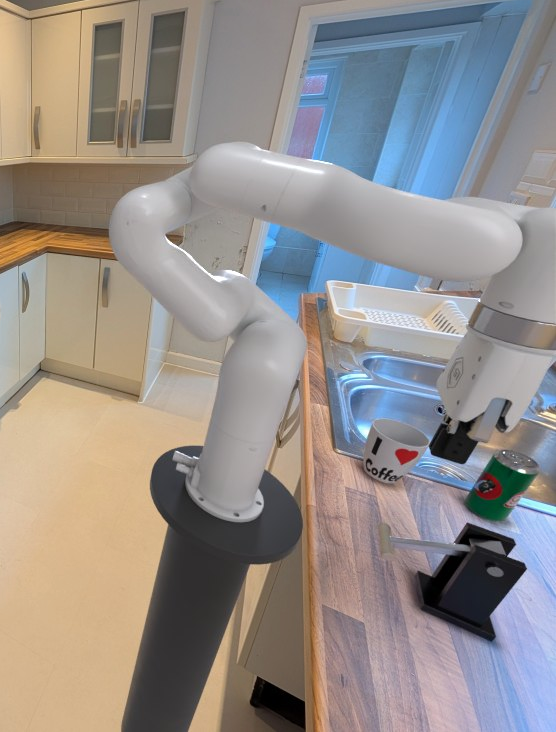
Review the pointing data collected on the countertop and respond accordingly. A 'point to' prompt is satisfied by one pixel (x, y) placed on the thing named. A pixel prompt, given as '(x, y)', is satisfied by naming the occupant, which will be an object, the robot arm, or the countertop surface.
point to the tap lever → (429, 545)
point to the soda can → (501, 485)
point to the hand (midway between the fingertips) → (445, 455)
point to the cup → (392, 449)
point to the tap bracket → (470, 583)
